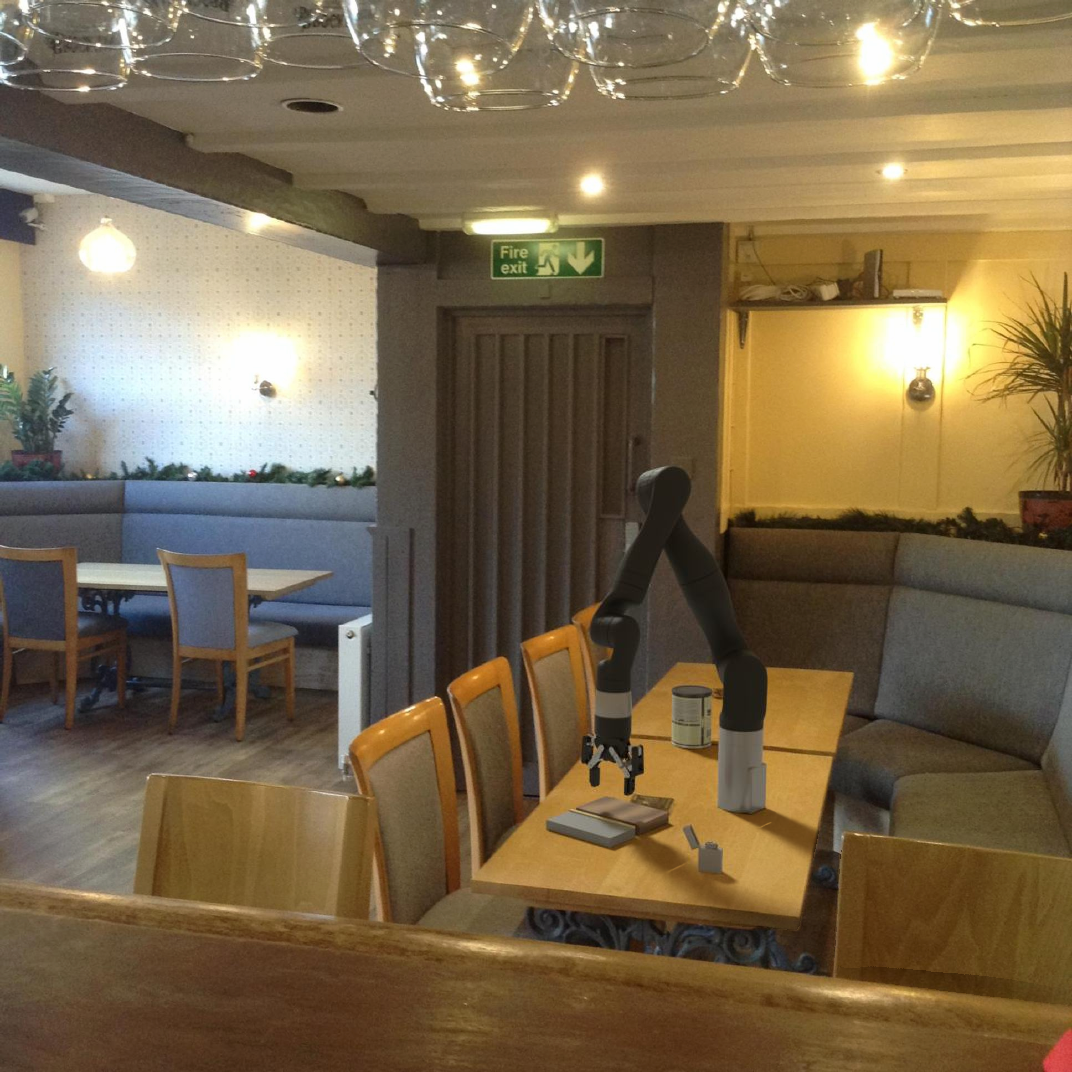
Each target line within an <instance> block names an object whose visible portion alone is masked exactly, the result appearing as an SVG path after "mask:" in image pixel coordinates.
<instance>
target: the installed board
mask: <svg viewBox="0 0 1072 1072" xmlns="http://www.w3.org/2000/svg"><path fill="white" fill-rule="evenodd" d="M545 829H546V830H548V831H549V830H550V831H552V832H556V833H558V834H563V835H566V836H569V837H572V838H576V839H579V840H583V841H586V842H588V843H589V842H590V843H593V844H596V845H600V846H603V847H607V848H611V849H612V848H613V847H616V846H618V845H620V844H623V843H624V842H626V841H629V840H631V839H634V838H635V837H636V834H635V826H632V825H629V824H625V823H621V822H618V821H614V820H610V819H607V818H603V817H600V816H596V815H592V814H589V813H585V812H581V811H578V810H576V809H574V808H569V810H568V811H566V812H563V813H561V814H558V815H555V816H553V817H550V818H548V819H546V820H545Z"/></svg>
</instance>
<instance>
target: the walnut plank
mask: <svg viewBox="0 0 1072 1072" xmlns="http://www.w3.org/2000/svg"><path fill="white" fill-rule="evenodd" d="M575 810H578V811H581V812H585V813H589V814H592V815H596V816H600V817H603V818H607V819H610V820H614V821H618V822H621V823H625V824H629V825H632V826H635V835H639V836H641V835H642V834H644V833H648V832H649V831H652V830H654V829H656V828H658V827H660V826H663V825H665V824H667V823H669V822H670V821H669V819H670V817H669V816H670V814H669V813H670V812H669V811H666V810H662V809H658V808H654V807H652V806H651V807H650V806H646V805H643V804H638V803H635V802H631V801H627V800H623V799H620V798H615V797H612V796H609V795H604V796H602V797H600V798H597V799H595V800H592V801H589V802H587V803H584V804H581V805H580V806H577V807H575Z"/></svg>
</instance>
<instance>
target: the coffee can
mask: <svg viewBox="0 0 1072 1072" xmlns="http://www.w3.org/2000/svg"><path fill="white" fill-rule="evenodd" d="M713 691H714V690H713V689H712V688H711V687H707V686H703V685H693V684H689V685H688V684H685V685H677V686H674V687H672V688H671V741H670V742H671V743H670V744H671V745H673V746H674V747H678V748H682V749H692V750H694V749H696V750H697V749H706V748H709V747H711V746H712V717H713V716H712V715H713V714H712V712H713V711H712V707H713V701H712V700H713Z"/></svg>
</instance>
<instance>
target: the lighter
mask: <svg viewBox="0 0 1072 1072" xmlns="http://www.w3.org/2000/svg"><path fill="white" fill-rule="evenodd" d="M682 832H683V834H684V837H685V838H686V840H687V843H688V845H689V847H690V849H691V850H692V851H693V850H696V849H698V852H697V853H698V855H697V856H698V857H697V859H698V861H697V871H698V872H701V873H702V872H703V873H710V874H718V875H720V874H722V872H723V855H724V854H723V853H724V851H723V850H724V848H723V847H722V846H719V844H718V843H717V842H716V841H707V840H706V841H705V842H704V844H703V845H702V844H700V842H699V839H698V836H697V834H696V832H695V830H694V828H693V826H692V824H691V823H689V824H688V825H687V824H686V825H685V826H683V828H682Z"/></svg>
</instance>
